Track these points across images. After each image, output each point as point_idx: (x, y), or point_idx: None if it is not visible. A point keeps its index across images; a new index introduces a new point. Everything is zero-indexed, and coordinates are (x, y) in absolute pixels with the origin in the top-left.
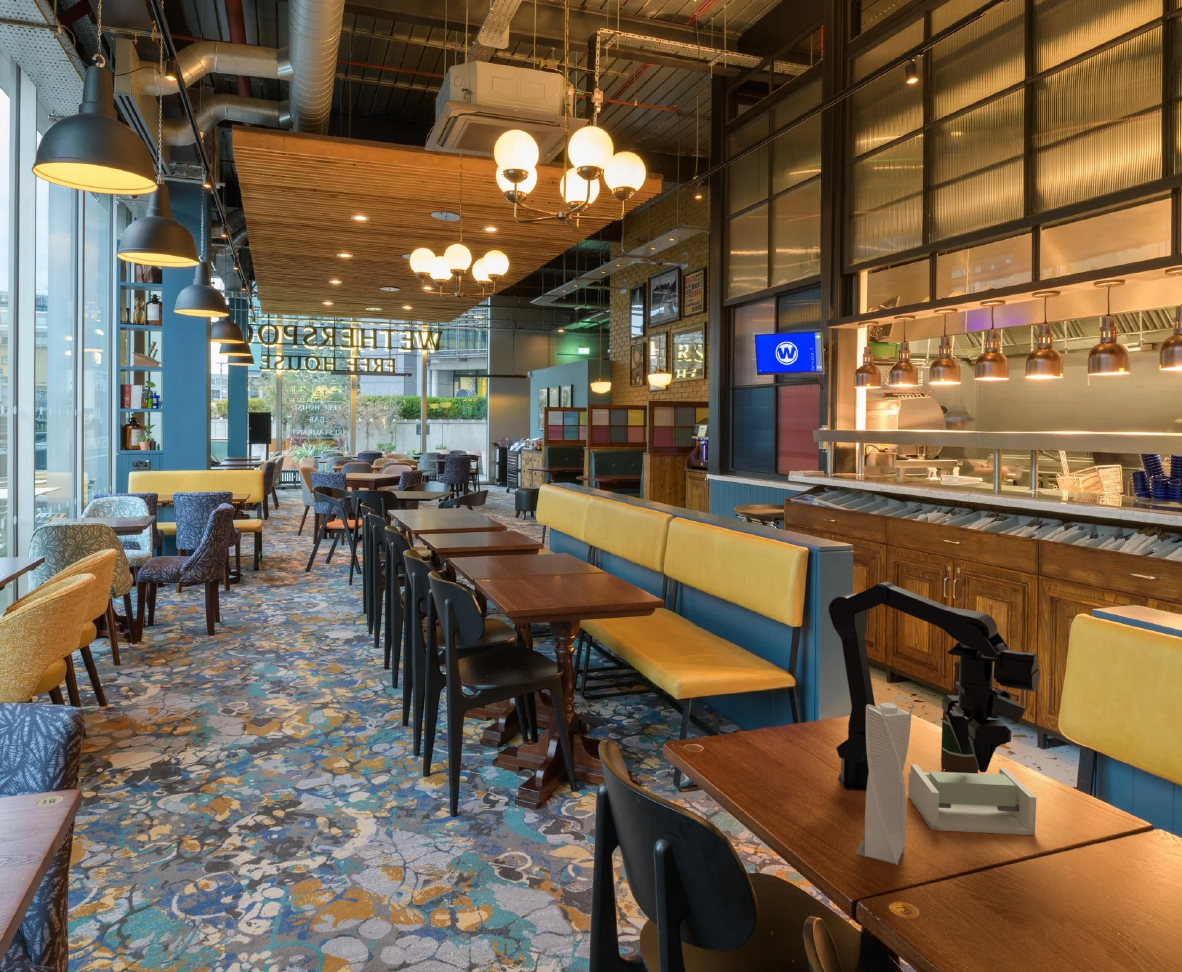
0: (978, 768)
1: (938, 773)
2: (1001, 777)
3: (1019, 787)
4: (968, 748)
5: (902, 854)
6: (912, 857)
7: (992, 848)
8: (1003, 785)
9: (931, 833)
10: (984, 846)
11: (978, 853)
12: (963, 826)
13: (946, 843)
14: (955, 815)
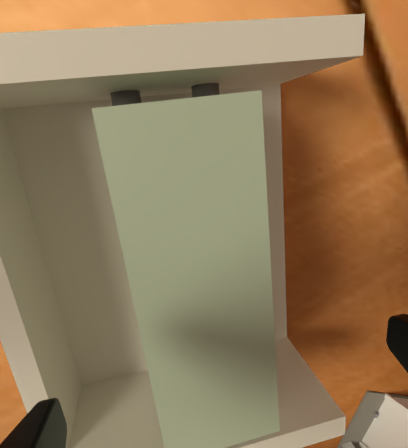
0: (403, 363)
1: (183, 434)
2: (152, 144)
3: (240, 65)
4: (44, 429)
5: (392, 394)
6: (402, 378)
7: (361, 216)
8: (264, 163)
9: (299, 343)
10: (352, 234)
11: (385, 254)
12: (280, 277)
13: (344, 316)
14: None
